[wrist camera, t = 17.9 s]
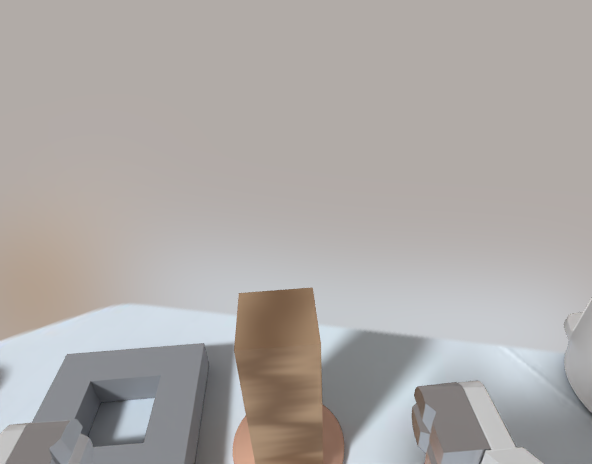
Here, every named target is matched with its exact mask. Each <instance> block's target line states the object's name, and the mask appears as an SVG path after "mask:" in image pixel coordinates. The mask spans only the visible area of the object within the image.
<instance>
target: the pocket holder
mask: <svg viewBox="0 0 592 464" xmlns="http://www.w3.org/2000/svg"><path fill="white" fill-rule="evenodd" d="M208 368H209V362H208V358H207V354H206V349H205V345H204V343H201V344H189V345H176V346H164V347H151V348H139V349H126V350H114V351H101V352H89V353H76V354H67V356H66V357H65V359H64V361H63V363H62V365H61V367H60V369H59V371H58V373H57V375H56V377H55V379H54V381H53V383H52V385H51V386H50V388H49V390H48V392H47V394H46V396H45V398H44V400H43V402H42V404H41V406H40V408H39V410H38V412H37V414H36V415H35V417H34V419H33V421H32V423H38V422H50V421H61V420H73V419H77V420H78V421H79V422H80V424H81V425H82V430H81V434H83V435H85V436H87V437H88V434H89V431H90V429H91V426H92V424H93V421H94V418H95V416H96V413H97V411H98V408H99V405H100V403H101V402H110V401H122V400H134V399H146V398H155V400H154V404H153V408H152V412H151V415H150V419H149V423H148V427H147V431H146V435H145V439H144V442H143V443H134V444H122V445H111V446H99V447H93V448H94V460H93V464H195V458H196V451H197V444H198V437H199V430H200V424H201V417H202V410H203V403H204V396H205V389H206V382H207V375H208Z"/></svg>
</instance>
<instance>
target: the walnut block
mask: <svg viewBox="0 0 592 464" xmlns="http://www.w3.org/2000/svg"><path fill="white" fill-rule="evenodd" d="M234 353H235V358H236V363H237V369H238V374H239V380H240V385H241V390H242V396H243V401H244V406H245V412H246V417H247V423H248V428H249V433H250V439H251V444H252V449H253V455H254V460H255V464H323V420H322V375H321V342H320V335H319V328H318V321H317V314H316V308H315V300H314V294H313V288H301V289H289V290H276V291H262V292H249V293H239V299H238V311H237V322H236V334H235V346H234Z"/></svg>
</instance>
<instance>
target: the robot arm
mask: <svg viewBox="0 0 592 464" xmlns="http://www.w3.org/2000/svg"><path fill="white" fill-rule="evenodd" d="M564 328H565V332H566V335H567V337H568V340H569V343H568V347H567V350H566V353H565V357H564V367H565V372H566V375H567V378H568V381H569V383H570V385H571V387H572V389H573V390H574V392H575V393H576V395H577V396H578V398H579V399H580V400H581V402H582V403H583V404H584V405H585V406H586V408H587V409H588V410H589V411H590V412H591V413H592V298H591V299H590V301H589V303H588V304H587V306H586V308H585V310H584V311H583V312H582V313H573V314H570V315H569V316H568V317H567V319H566V320H565V322H564ZM414 397H415V400H416V404H415V405H414V406H413V407H412V425H413V430H414V435H415V438H416V442H417V445H418V447H419V448H420V449H421V450H422V451H423V452H424V453H425V454H426V457H425V463H424V464H544V463H542V462H541V461H540V460H539V459H537V458H536V457H535V456H534V455H532V454H531V453H530V452H529V451H527V450H526V449H525V448H524V447H516V446H515V444H514V442H513V440H512V438H511V436H510V434H509V432H508V430H507V428H506V426H505V424H504V423H503V421H502V419H501V417H500V415H499V413H498V411H497V409H496V407H495V405H494V403H493V401H492V400H491V398H490V396H489V394H488V392H487V390H486V388H485V386H484V385H483V384H482V383H481V382H480V381H468V382H459V383H457V382H453V383H444V384H436V385H427V386H418V387H417V388H416V389H415V394H414ZM81 430H82V425H81V424H80V422H79V421H78V420H77V419H73V420H61V421H50V422H38V423H24V424H14V425H9V426H8V427H6V428H5V429H4V430H3V431H2V432H1V434H0V464H93V460H94V448H93V443H92V441H91V440H90V438H89V437H87V436H85V435H83V434H81Z"/></svg>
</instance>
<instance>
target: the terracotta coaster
mask: <svg viewBox="0 0 592 464" xmlns="http://www.w3.org/2000/svg"><path fill="white" fill-rule="evenodd" d="M322 420H323V464H343V459H344V438H343V433H342V430H341V427H340V425H339V423H338V421H337V419H336V418H335V416H334V415H333V414H332V413H331V411H330V410H329V409H328V408H326V407H325V406H324V405H323V404H322ZM233 461H234V464H255V460H254V455H253V449H252V444H251V439H250V433H249V428H248V423H247V417H246V416H245V417H244V419H243V420H242V422H241V423H240V425H239V427H238V429H237V431H236V434H235V438H234V442H233Z"/></svg>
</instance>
